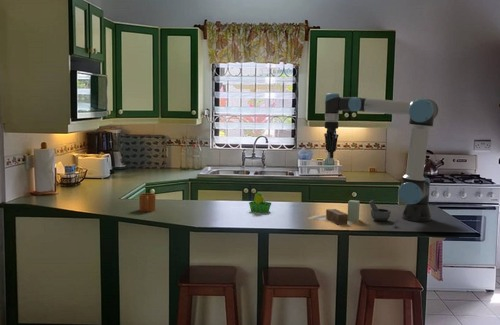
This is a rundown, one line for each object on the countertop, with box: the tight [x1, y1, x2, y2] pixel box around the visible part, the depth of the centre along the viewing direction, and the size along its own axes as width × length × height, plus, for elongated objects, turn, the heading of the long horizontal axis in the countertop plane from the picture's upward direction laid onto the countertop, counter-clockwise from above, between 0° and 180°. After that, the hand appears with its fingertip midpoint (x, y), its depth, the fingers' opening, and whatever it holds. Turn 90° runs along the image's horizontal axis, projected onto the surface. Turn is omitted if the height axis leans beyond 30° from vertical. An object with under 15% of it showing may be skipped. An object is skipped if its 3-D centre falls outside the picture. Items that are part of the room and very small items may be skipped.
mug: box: [138, 192, 156, 213], centre depth 296 cm, size 9×12×9 cm
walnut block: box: [325, 208, 348, 225], centre depth 272 cm, size 5×5×14 cm
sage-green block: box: [347, 199, 361, 223], centre depth 275 cm, size 5×5×10 cm
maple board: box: [306, 213, 361, 226], centre depth 277 cm, size 24×14×2 cm, turn 58°
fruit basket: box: [248, 192, 272, 214], centre depth 300 cm, size 11×9×11 cm
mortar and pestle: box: [368, 199, 392, 223], centre depth 276 cm, size 11×9×12 cm
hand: (330, 163), depth 298 cm, fingers closed
